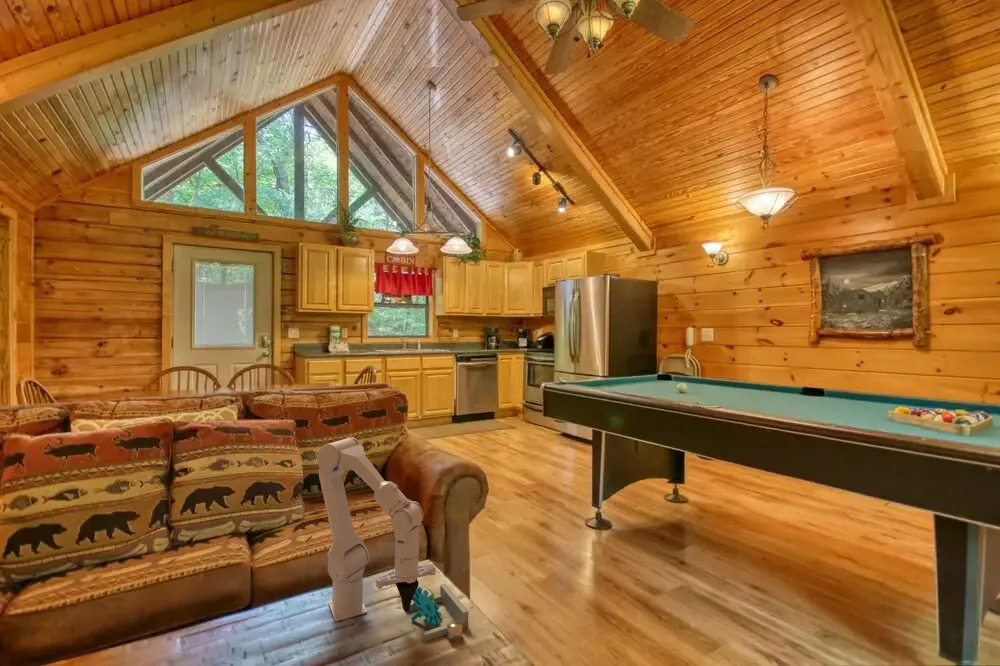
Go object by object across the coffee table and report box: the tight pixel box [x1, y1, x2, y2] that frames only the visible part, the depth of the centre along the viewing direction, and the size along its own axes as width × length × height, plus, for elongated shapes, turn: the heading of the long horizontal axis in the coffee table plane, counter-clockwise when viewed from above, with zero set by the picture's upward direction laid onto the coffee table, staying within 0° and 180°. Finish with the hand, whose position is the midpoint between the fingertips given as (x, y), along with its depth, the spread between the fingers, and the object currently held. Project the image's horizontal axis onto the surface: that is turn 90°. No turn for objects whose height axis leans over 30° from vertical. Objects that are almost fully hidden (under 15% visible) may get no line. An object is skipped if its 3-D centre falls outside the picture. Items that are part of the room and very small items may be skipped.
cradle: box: [406, 583, 469, 642], centre depth 121 cm, size 14×12×4 cm
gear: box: [410, 586, 442, 628], centre depth 120 cm, size 11×6×10 cm
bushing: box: [446, 619, 463, 643], centre depth 114 cm, size 4×4×3 cm
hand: (405, 609), depth 117 cm, fingers closed
